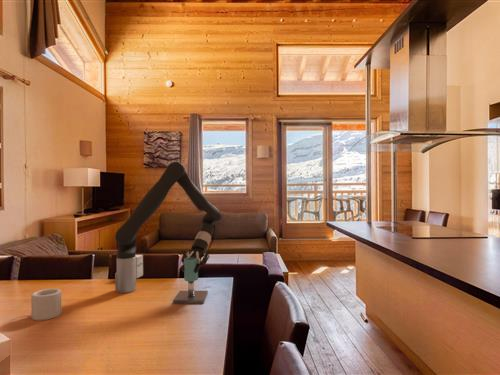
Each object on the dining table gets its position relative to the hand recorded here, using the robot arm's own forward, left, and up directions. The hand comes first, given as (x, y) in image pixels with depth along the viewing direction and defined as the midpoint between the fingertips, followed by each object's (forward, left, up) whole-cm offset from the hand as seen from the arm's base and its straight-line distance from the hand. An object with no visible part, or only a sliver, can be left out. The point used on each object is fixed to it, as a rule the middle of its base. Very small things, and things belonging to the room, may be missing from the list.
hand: (189, 271), depth 158 cm
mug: (-57, -18, -14) cm, 62 cm away
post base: (+1, +2, -13) cm, 13 cm away
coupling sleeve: (+1, +2, -4) cm, 5 cm away
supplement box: (-40, +40, -14) cm, 59 cm away
